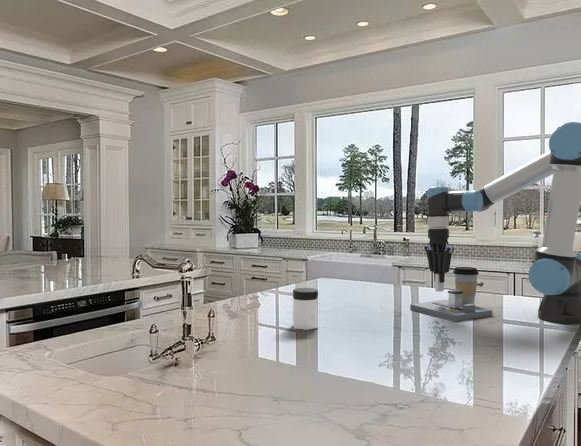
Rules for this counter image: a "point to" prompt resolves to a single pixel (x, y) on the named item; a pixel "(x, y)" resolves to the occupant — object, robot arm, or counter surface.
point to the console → (451, 310)
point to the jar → (305, 308)
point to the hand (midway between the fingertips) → (439, 291)
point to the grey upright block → (455, 298)
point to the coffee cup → (466, 283)
